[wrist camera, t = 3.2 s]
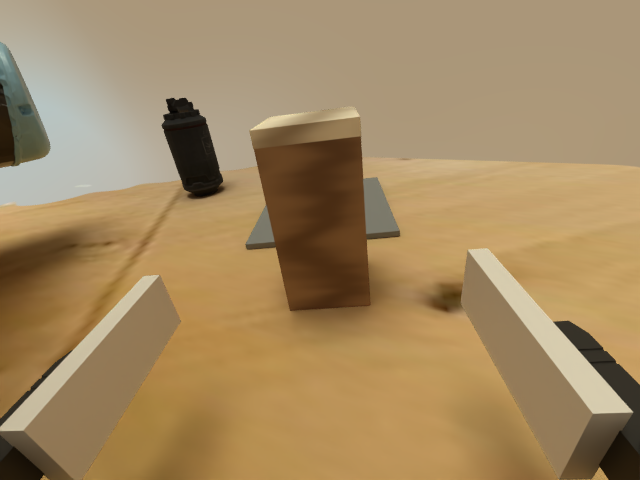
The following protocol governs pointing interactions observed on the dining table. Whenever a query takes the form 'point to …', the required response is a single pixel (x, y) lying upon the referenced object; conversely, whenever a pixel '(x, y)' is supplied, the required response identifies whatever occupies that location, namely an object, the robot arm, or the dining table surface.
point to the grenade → (191, 147)
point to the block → (316, 205)
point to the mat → (375, 216)
